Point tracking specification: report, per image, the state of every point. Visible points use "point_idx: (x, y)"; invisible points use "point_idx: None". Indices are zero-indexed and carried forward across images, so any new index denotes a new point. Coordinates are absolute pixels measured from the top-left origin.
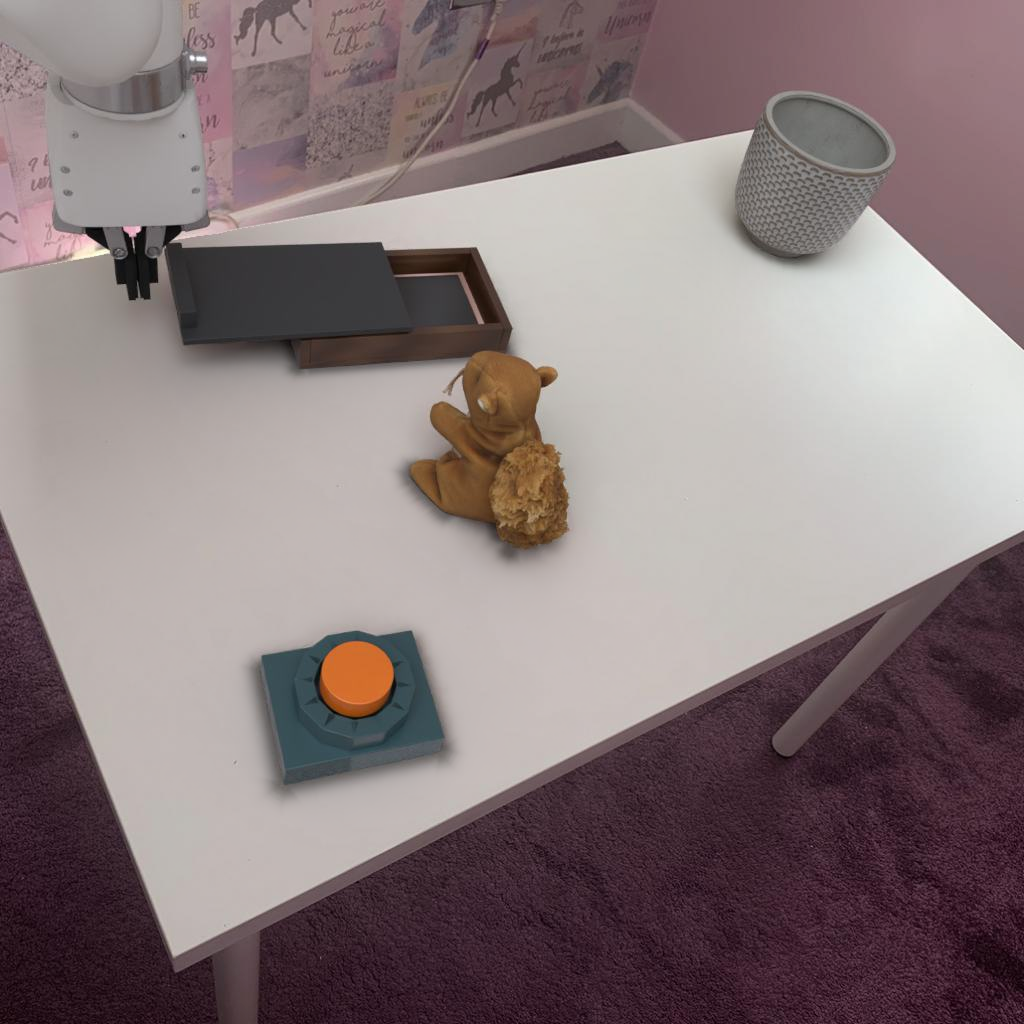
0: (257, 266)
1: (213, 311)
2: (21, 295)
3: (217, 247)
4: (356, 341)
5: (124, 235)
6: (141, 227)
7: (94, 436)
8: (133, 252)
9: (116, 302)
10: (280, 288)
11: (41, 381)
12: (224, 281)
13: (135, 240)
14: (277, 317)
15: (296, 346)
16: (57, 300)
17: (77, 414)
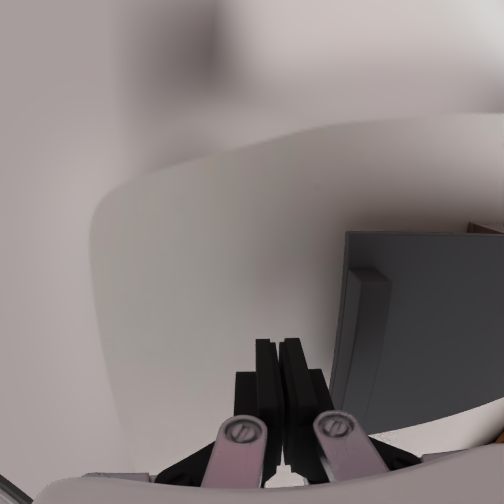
0: (478, 292)
1: (383, 395)
2: (102, 228)
3: (442, 237)
4: None
5: (265, 464)
6: (316, 447)
7: (201, 448)
8: (279, 451)
9: (239, 251)
10: (483, 338)
11: (141, 384)
12: (424, 331)
13: (292, 423)
14: (454, 393)
15: None
16: (150, 241)
17: (183, 427)
